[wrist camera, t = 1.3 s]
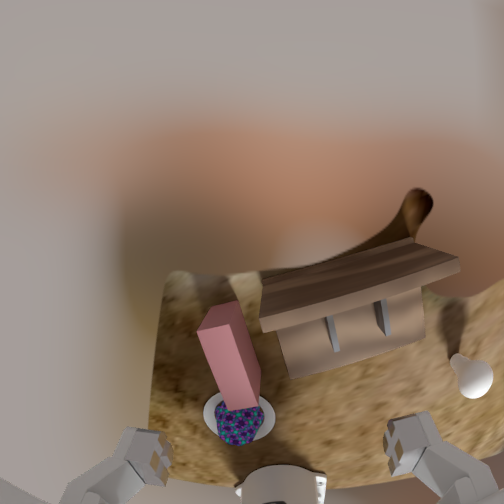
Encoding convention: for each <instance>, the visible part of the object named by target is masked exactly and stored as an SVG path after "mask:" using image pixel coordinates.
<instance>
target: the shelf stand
mask: <svg viewBox="0 0 504 504" xmlns="http://www.w3.org/2000/svg"><path fill="white" fill-rule="evenodd" d="M458 272H460V262H459V257H457V256H454V255H451V254H448V253H445V252H442V251H439V250H436V249H433V248H429V247H427V246H423V245H420V244H417V243H414V241H413V238H412V237H408V238H405V239H401V240H398V241H395V242H392V243H388V244H385V245H382V246H378V247H375V248H371V249H368V250H365V251H361V252H358V253H354V254H351V255H347V256H344V257H341V258H337V259H334V260H330V261H327V262H323V263H319V264H316V265H312V266H309V267H305V268H302V269H298V270H294V271H291V272H287V273H283V274H280V275H276V276H272V277H269V278H265V279H262V284H263V290H262V298H261V306H260V313H259V321H260V324H261V327H262V331H263V333H266V332H270V331H274V330H276V332H277V336H278V339H279V342H280V346H281V349H282V353H283V356H284V360H285V363H286V366H287V370H288V373H289V377H290V380H292V379H296V378H300V377H304V376H308V375H312V374H316V373H320V372H324V371H327V370H331V369H334V368H338V367H341V366H345V365H348V364H351V363H355V362H358V361H361V360H364V359H367V358H371V357H374V356H377V355H380V354H383V353H385V352H388V351H391V350H394V349H397V348H400V347H402V346H405V345H408V344H410V343H413V342H416V341H418V340H421V339H423V338H426V337H425V323H424V312H423V302H422V293H421V286H423V285H426V284H428V283H431V282H434V281H437V280H439V279H442V278H445V277H447V276H450V275H452V274H455V273H458Z"/></svg>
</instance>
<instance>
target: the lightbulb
mask: <svg viewBox="0 0 504 504" xmlns="http://www.w3.org/2000/svg"><path fill="white" fill-rule="evenodd" d="M450 365H451V366H452V367H453V369H454V372H455V373H456V374H457V377H458V387H459V390H460V392H461V393H462V394H463V395H464V396H465V397H468V398H478V397H481V396H483V395H484V394H485V393H486V392H487V391H488V390H489V388H490V387H491V384H492V381H493V371H492V369H491V367H490V365H489V364H488V363H487V362H485V361H482V360H470V359H468V358H467V357H464V356H462V355H461V354H459V353H456V354H454V355H453V356H452V357H451V359H450Z"/></svg>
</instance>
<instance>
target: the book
mask: <svg viewBox="0 0 504 504" xmlns="http://www.w3.org/2000/svg"><path fill="white" fill-rule="evenodd" d="M197 334H198V337H199V339H200V342H201V345H202V347H203V350H204V353H205V355H206V358H207V360H208V363H209V365H210V368H211V370H212V373H213V375H214V378H215V380H216V383H217V385H218V388H219V390H220V392H221V395H222V397H223V400H224V402H225V404H226V407H227V409H228V411H233V410H239V409H245V408H251V407H257V406H258V404H259V393H260V382H261V369H260V366H259V363H258V360H257V357H256V354H255V351H254V348H253V345H252V342H251V339H250V336H249V333H248V329H247V326H246V323H245V320H244V317H243V314H242V311H241V308H240V304H239V301H238V300H236V301H232V302H228V303H224V304H220V305H216V306H212V307H211V308H210V310H209V311H208V313H207V315H206V316H205V318H204V320H203V321H202V323H201V325H200V326H199V328H198V330H197Z"/></svg>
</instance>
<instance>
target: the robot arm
mask: <svg viewBox="0 0 504 504" xmlns="http://www.w3.org/2000/svg"><path fill="white" fill-rule="evenodd" d="M387 427H388V430H387V431H386V432H385V433H384V437H383V447H384V452H385V454H386V455H387V456H388V457H390V459H389V462H388V466H389V469H390V473H391V477H393V476H397V475H401V474H406V473H410V472H412V473H413V474H414V475H415V476H416V477H418V478H419V479H420V480H421V481H422V482H423V483H425V484H426V485H427V486H428V487H429V488H431V489H432V490H433V491H434V492H435V493H436V494H438V495H439V496H440V497H441V499H440V500H439V501H438V502H437V503H436V504H504V488H503V489H501V490H499V489H498V486H497V484H496V482H495V479H494V477H493V475H492V473H491V471H490V468H489V466H488V465H486V464H484V463H483V462H481V461H479V460H478V459H476V458H474V457H472V456H471V455H469V454H467V453H466V452H464V451H462V450H461V449H459V448H457V447H456V446H454V445H452V444H451V443H449V442H447V441H444V442H443V441H442V439H441V436H440V434H439V432H438V430H437V428H436V426H435V423H434V421H433V419H432V417H431V415H430V413H429V412H428V411H423V412H419V413H416V414H410V415H406V416H402V417H398V418H394V419H390V420H389V421H388V424H387ZM166 439H167V436H166V434H165V432H163V431H155V430H147V429H140V428H134V427H126V428H125V429H124V431H123V433H122V436H121V438H120V440H119V442H118V444H117V447H116V449H115V451H114V454H113V456H112V457H108V458H107V459H105V460H104V461H102V462H100V463H99V464H98V465H96V466H94V467H93V468H91V469H90V470H88V471H87V472H85V473H84V474H82V475H81V476H79V477H77V478H76V479H74V480H73V481H71V482H70V483H68V485H67V487H66V489H65V491H64V493H63V496H62V498H61V500H60V502H59V504H125V503H126V502H127V501H129V500H130V499H131V498H132V497H133V496H134V495H135V494H136V493H137V492H138V491H140V490H141V489H142V488H143V487H144V486H145V484H151V485H157V486H166V483H167V480H168V476H169V472H168V470H167V468H168V467H169V466H170V465H172V461H173V448H172V445H171V443H169V442H168V441H166ZM326 481H327V476H326V475H325V474H321V473H313V472H311V471H308V470H306V469H304V468H301V467H298V466H292V465H273V466H267V467H263V468H260V469H258V470H255V471H254V472H252V473H251V474H249V475H248V476H247V478H246V479H245V481H244V482H243V483H242V484H240V485H238V486H237V487H236V488H235V492H236V494H237V495H239V497H240V498H241V504H324V497H325V489H326ZM0 504H50V503H48V502H45V501H43V500H41V499H39V498H37V497H35V496H33V495H31V494H29V493H28V492H26V491H24V490H22V489H20V488H18V487H17V486H15V485H13V484H11V483H10V482H8V481H6V480H4V479H3V478H1V477H0Z"/></svg>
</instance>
